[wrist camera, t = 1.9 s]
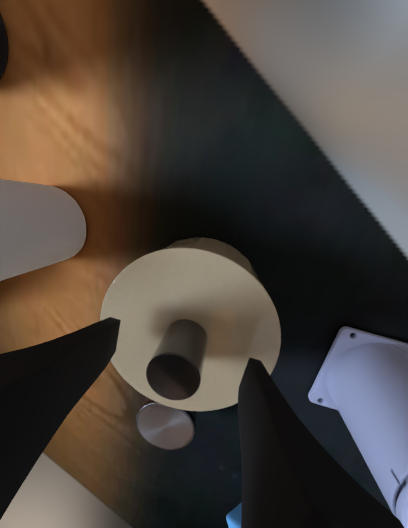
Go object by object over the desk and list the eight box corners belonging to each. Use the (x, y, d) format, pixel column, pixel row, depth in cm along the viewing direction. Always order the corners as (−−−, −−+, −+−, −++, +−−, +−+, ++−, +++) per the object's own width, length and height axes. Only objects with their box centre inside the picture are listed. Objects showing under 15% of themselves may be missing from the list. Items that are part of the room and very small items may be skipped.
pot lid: (304, 272, 12) (340, 305, 8) (247, 416, 15) (253, 493, 11) (121, 223, 13) (69, 231, 9) (100, 371, 16) (55, 429, 12)
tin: (206, 371, 21) (200, 413, 17) (195, 409, 23) (187, 457, 18) (159, 357, 22) (140, 395, 17) (150, 395, 23) (131, 439, 18)
